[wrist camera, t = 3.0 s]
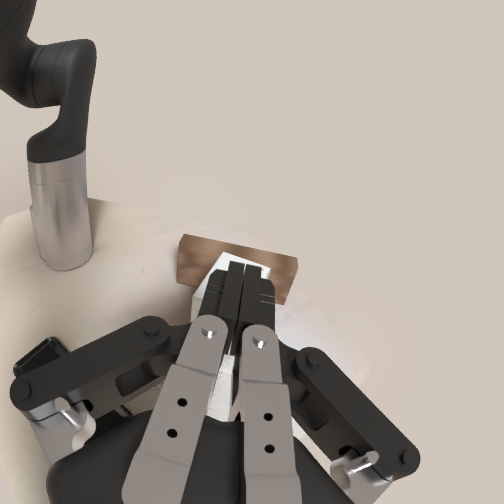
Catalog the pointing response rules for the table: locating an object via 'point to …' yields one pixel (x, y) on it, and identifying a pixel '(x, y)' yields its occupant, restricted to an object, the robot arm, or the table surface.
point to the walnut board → (208, 251)
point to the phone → (54, 350)
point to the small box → (197, 297)
